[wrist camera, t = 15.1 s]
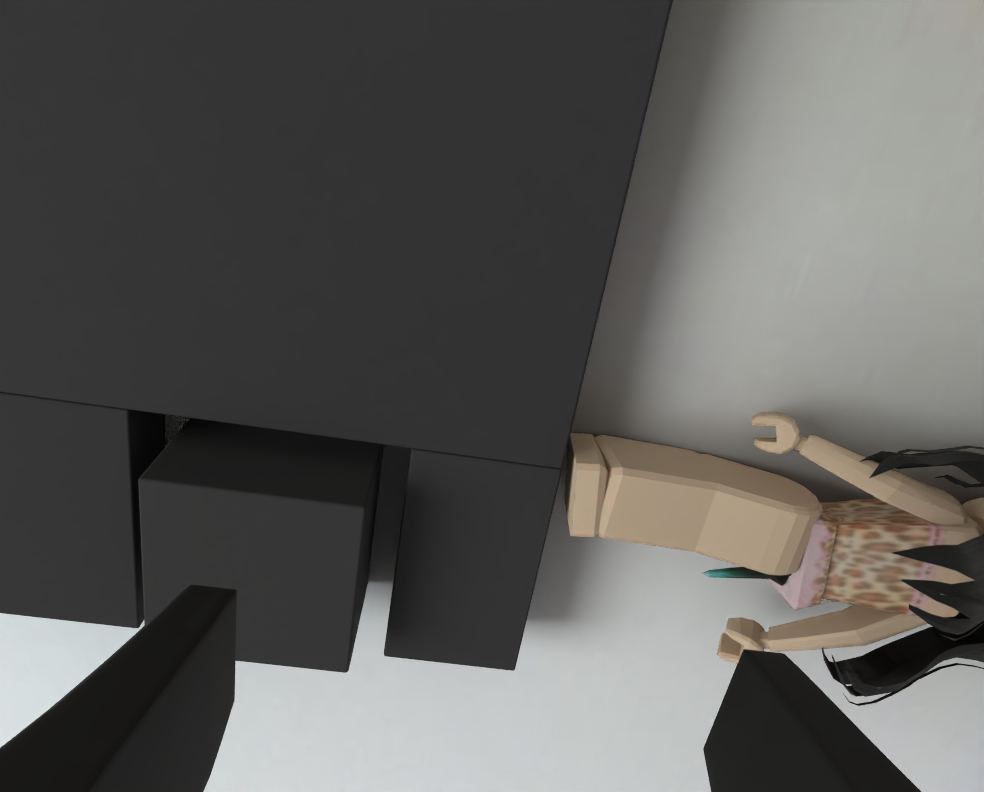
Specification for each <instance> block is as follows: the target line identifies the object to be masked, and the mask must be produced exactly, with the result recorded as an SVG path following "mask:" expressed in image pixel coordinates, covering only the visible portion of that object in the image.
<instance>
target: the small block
mask: <svg viewBox="0 0 984 792" xmlns="http://www.w3.org/2000/svg"><path fill="white" fill-rule="evenodd" d="M383 447H384V444H378V443H371V442H363V441H356V440H349V439H341V438H334V437H327V436H319V435H312V434H305V433H298V432H290V431H283V430H276V429H268V428H261V427H254V426H246V425H239V424H232V423H225V422H217V421H210V420H203V419H195V418H190V419H189V420H188V421H187V422H186V424H185V425H184V426H183V427H182V428H181V430H180V431H179V432H178V433H177V434H176V435H175V437H174V438H173V439H172V440H171V441H170V442H169V444H168V445H167V446H166V447H165V448H164V450H163V451H162V452H161V453H160V454H159V455H158V457H157V458H156V459H155V460H154V461H153V462H152V464H151V465H150V466H149V467H148V468H147V470H146V471H145V472H144V473H143V474H142V475H141V477H140V478H139V480H138V485H139V508H140V530H141V553H142V576H143V599H144V621H145V625H146V624H147V623H148V622H149V621H150V620H151V619H153V618H154V617H155V616H156V615H157V614H158V613H159V612H160V611H161V610H162V609H163V608H164V607H165V606H166V605H167V604H169V603H170V602H171V601H172V600H173V599H174V598H175V597H176V596H177V595H178V594H179V593H180V592H181V591H182V590H184V589H185V588H187V587H188V586H190V585H191V584H192V585H201V586H209V587H218V588H226V589H235V590H237V602H236V648H235V660H236V661H245V662H254V663H263V664H272V665H281V666H291V667H300V668H309V669H318V670H327V671H336V672H347V671H348V670H349V666H350V661H351V657H352V652H353V648H354V643H355V638H356V634H357V629H358V625H359V620H360V616H361V611H362V607H363V602H364V598H365V593H366V588H367V584H368V576H369V567H370V559H371V550H372V542H373V533H374V524H375V516H376V507H377V499H378V490H379V482H380V473H381V464H382V456H383Z"/></svg>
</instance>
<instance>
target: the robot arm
mask: <svg viewBox="0 0 984 792" xmlns="http://www.w3.org/2000/svg"><path fill="white" fill-rule="evenodd" d="M236 602H237V590H235V589H226V588H218V587H209V586H201V585H192V584H191V585H190V586H188V587H187V588H185V589H184V590H182V591H181V592H180V593H179V594H178V595H177V596H176V597H175V598H174V599H173V600H172V601H171V602H170V603H169V604H167V605H166V606H165V607H164V608H163V609H162V610H161V611H160V612H159V613H158V614H157V615H156V616H155V617H154V618H153V619H151V620H150V621H149V622H148V623H147V624H146V625H145V626H144V627H143V628H142V629H141V630H140V631H138V632H137V633H136V634H135V635H134V636H133V637H132V638H131V639H130V640H129V641H127V642H126V643H125V644H124V645H123V646H122V647H121V648H120V649H119V650H117V651H116V652H115V653H114V654H113V655H112V656H111V657H110V658H108V659H107V660H106V661H105V662H104V663H103V664H102V665H100V666H99V667H98V668H97V669H96V670H95V671H93V672H92V673H91V674H90V675H89V676H88V677H86V678H85V679H84V680H83V681H82V682H81V683H79V684H78V685H77V686H76V687H75V688H74V689H72V690H71V691H70V692H69V693H68V694H67V695H65V696H64V697H63V698H62V699H61V700H60V701H58V702H57V703H56V704H55V705H54V706H52V707H51V708H50V709H49V710H48V711H46V712H45V713H44V714H43V715H41V716H40V717H39V718H38V719H36V720H35V721H34V722H33V723H31V724H30V725H29V726H27V727H26V728H25V729H24V730H22V731H21V732H20V733H19V734H17V735H16V736H15V737H14V738H12V739H11V740H10V741H8V742H7V743H6V744H5V745H3V746H2V747H1V748H0V792H203V791H204V789H205V786H206V784H207V782H208V779H209V777H210V774H211V771H212V768H213V765H214V762H215V759H216V756H217V753H218V750H219V747H220V744H221V741H222V738H223V735H224V732H225V728H226V725H227V722H228V719H229V716H230V712H231V709H232V706H233V703H234V695H235V648H236ZM703 750H704V755H705V760H706V766H707V771H708V776H709V782H710V787H711V792H921V791H920V790H919V789H918V788H917V787H916V786H915V785H914V784H913V783H912V782H911V781H910V780H909V779H908V778H907V777H906V776H905V775H904V774H903V773H902V772H901V771H900V770H899V769H898V768H897V767H896V766H895V765H894V764H893V763H892V762H891V761H890V760H889V759H888V758H887V757H886V756H885V755H884V754H883V753H882V752H881V751H880V750H879V749H878V748H877V747H876V746H875V745H874V744H873V743H872V742H871V741H870V740H869V739H868V738H867V737H866V736H865V735H864V734H863V733H862V732H861V731H860V730H859V728H858V727H857V726H856V725H855V724H854V723H853V722H852V721H851V720H850V719H849V718H848V717H847V716H846V715H845V714H844V713H843V712H842V711H841V710H840V709H839V708H838V707H837V706H836V705H835V704H834V703H833V702H832V701H831V700H830V699H829V698H828V697H827V696H826V695H825V694H824V693H823V692H822V691H821V689H820V688H819V687H818V686H817V685H816V684H815V683H814V682H813V681H812V680H811V679H810V678H809V677H808V676H807V675H806V674H805V673H804V672H803V671H802V670H801V669H800V668H799V667H798V666H796V665H795V664H794V663H793V662H792V661H791V660H790V659H789V658H788V657H787V656H786V655H785V654H782V653H774V652H765V651H756V650H748V649H743V652H742V654H741V657H740V659H739V662H738V664H737V667H736V669H735V672H734V674H733V677H732V679H731V681H730V684H729V686H728V689H727V691H726V694H725V696H724V699H723V701H722V704H721V706H720V709H719V711H718V714H717V716H716V719H715V721H714V724H713V726H712V729H711V731H710V734H709V736H708V739H707V741H706V744H705V746H704V749H703Z"/></svg>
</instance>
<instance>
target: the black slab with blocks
mask: <svg viewBox="0 0 984 792" xmlns="http://www.w3.org/2000/svg"><path fill="white" fill-rule="evenodd" d="M672 1H673V0H0V613H6V614H15V615H24V616H32V617H41V618H50V619H59V620H68V621H77V622H86V623H95V624H104V625H113V626H121V627H130V628H139V627H140V625H141V623H142V622H143V620H144V599H143V576H142V553H141V530H140V508H139V485H138V480H139V478H140V477H141V475H142V474H143V473H144V472H145V471H146V470H147V468H148V467H149V466H150V465H151V464H152V462H153V461H154V460H155V459H156V458H157V457H158V455H159V454H160V453H161V452H162V451H163V450H164V421H163V414H166V415H173V416H181V417H188V418H195V419H203V420H210V421H217V422H225V423H232V424H239V425H246V426H254V427H261V428H268V429H276V430H283V431H290V432H298V433H305V434H312V435H319V436H327V437H334V438H341V439H349V440H356V441H363V442H371V443H378V444H385V445H392V446H400V447H407V448H412V449H411V456H410V464H409V471H408V479H407V486H406V493H405V501H404V508H403V516H402V523H401V530H400V538H399V545H398V553H397V560H396V567H395V575H394V582H393V590H392V597H391V604H390V612H389V619H388V627H387V634H386V641H385V649H384V656H389V657H398V658H407V659H415V660H424V661H433V662H442V663H451V664H460V665H469V666H478V667H487V668H496V669H504V670H514V669H515V666H516V662H517V658H518V654H519V649H520V645H521V641H522V637H523V632H524V628H525V624H526V620H527V615H528V611H529V607H530V603H531V599H532V594H533V590H534V586H535V582H536V577H537V573H538V569H539V565H540V560H541V556H542V552H543V548H544V544H545V539H546V535H547V531H548V527H549V522H550V518H551V514H552V510H553V505H554V501H555V497H556V493H557V489H558V484H559V480H560V476H561V472H562V470H561V467H562V466H563V462H564V458H565V454H566V450H567V445H568V441H569V437H570V433H571V428H572V424H573V420H574V416H575V411H576V407H577V403H578V399H579V394H580V390H581V386H582V382H583V378H584V373H585V369H586V365H587V361H588V356H589V352H590V348H591V344H592V339H593V335H594V331H595V327H596V323H597V318H598V314H599V310H600V306H601V301H602V297H603V293H604V289H605V284H606V280H607V276H608V272H609V268H610V263H611V259H612V255H613V251H614V246H615V242H616V238H617V234H618V229H619V225H620V221H621V217H622V212H623V208H624V204H625V200H626V196H627V191H628V187H629V183H630V179H631V174H632V170H633V166H634V162H635V157H636V153H637V149H638V145H639V141H640V136H641V132H642V128H643V124H644V119H645V115H646V111H647V107H648V102H649V98H650V94H651V90H652V85H653V81H654V77H655V73H656V69H657V64H658V60H659V56H660V52H661V47H662V43H663V39H664V35H665V30H666V26H667V22H668V18H669V14H670V9H671V5H672Z"/></svg>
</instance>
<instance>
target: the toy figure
mask: <svg viewBox="0 0 984 792" xmlns="http://www.w3.org/2000/svg"><path fill="white" fill-rule="evenodd" d="M752 424H753V425H754V426H776V437H777V438H755V441H754V445H755V446H757V447H758V448H759V449H761V450H763V451H766V452H768V453H774V454H784V453H786V452H788V451H790V450H791V449H795V450H798V451H799V453H800V454H801V455H803V456H804V457H806V458H808V459H810V460H811V461H813V462H815V463H816V464H818V465H820V466H822V467H823V468H825V469H827V470H828V471H830V472H832V473H834V474H835V475H837V476H839V477H840V478H842V479H844V480H846V481H848V482H849V483H851V484H853V485H855V486H857V487H858V488H860V489H862V490H864V491H865V492H867V493H869V494H871V495H873V496H874V497H876V498H874V499H862V500H850V501H837V502H825V503H820V502H819V501H818V499H817V497H816V496H815V495H814V494H813V493H811V492H810V491H809V490H808V489H807V488H805V487H804V486H802V485H800V484H798V483H797V482H794V481H792V480H790V479H787V478H785V477H783V476H780V475H777V474H773V473H770V472H766V471H763V470H760V469H756V468H753V467H749V466H746V465H743V464H739V463H736V462H732V461H729V460H726V459H722V458H719V457H715V456H712V455H709V454H699V453H697V452H695V451H693V450H687V449H681V448H676V447H670V446H664V445H658V444H653V443H647V442H641V441H636V440H630V439H624V438H619V437H613V436H607V435H599V436H597V437H594V436H593V435H591V434H586V433H570V437H569V442H568V455H567V467H566V480H565V493H564V499H565V505H566V512H567V518H568V524H569V530H570V536H577V537H594V536H596V535H598V536H599V537H601V538H606V539H613V540H619V541H626V542H633V543H640V544H646V545H653V546H660V547H666V548H673V549H680V550H687V551H693V552H697V553H700V554H703V555H706V556H709V557H713V558H716V559H719V560H722V561H726V562H729V563H732V564H735V565H739V566H742V567H736V568H725V569H716V570H709V571H706V572H704V573H702V574H704V575H706V576H708V577H721V578H758V579H768V580H769V581H770V583H771V584H772V585H773V586H774V587H775V588H776V589H777V591H778V592H779V593H780V594H781V595H782V596H783V598H784V599H785V600H786V601H787V602H788V603H789V604H790V606H791V607H792V608H793V609H794V610H798V609H802V608H806V607H810V606H813V605H817V604H820V603H821V601H822V598H823V599H828V600H833V601H838V602H843V603H848V604H853V606H851V607H848V608H846V609H844V610H841V611H837V612H833V613H828V614H824V615H820V616H816V617H811V618H807V619H803V620H799V621H795V622H790V623H786V624H782V625H778V626H773V627H769V632H765V630H764V629H763V627H762V626H761V625H760V624H759V623H757V622H756V621H754V620H750V619H745V618H730V619H728V622H727V627H726V631H725V632H726V633H723V634H722V635H721V638H720V643H719V647H718V652H717V655H718V656H719V657H721V658H722V659H723V660H726V661H729V662H733V663H737V664H738V662H739V659H740V657H741V654H742V652H743V649H748V650H756V651H764V648H768V649H770V650H771V651H798V650H815V649H822V652H823V657H824V661H825V663H826V665H827V667H828V669H829V671H830V673H831V675H832V677H833V678H834V679H835V680H837V681H838V682H839V683H841V684H843V685H844V687H845V688H846V689H847V690H848V691H849V693H850V694H852V695H854V696H872V695H878V694H884V693H890V692H891V693H890V694H888V695H885V696H883V697H881V698H879V699H877V700H874V701H871V702H866V703H860V704H856V703H853V702H850V701H849V700H848V699H847V700H848V701H849V702H850V703H852V704H855V705H858V706H860V705H866V704H872V703H876V702H878V701H881V700H883V699H885V698H887V697H889V696H892V695H894V694H896V693H898V692H899V691H901V690H903V689H905V688H907V687H908V686H910V685H911V684H913V683H914V682H915V681H917V680H918V679H921V678H923V677H925V676H927V675H929V674H931V673H933V672H935V671H938V670H940V669H942V668H946V667H951V666H955V665H965V666H972V667H978V666H974V665H967V664H959V663H954V664H950V665H946V666H941V667H938V668H936V669H934V670H931V671H929V672H927V671H928V670H930V669H931V668H933V667H934V666H935V665H937V664H938V663H940V662H942V661H944V660H948V659H952V658H956V657H958V658H964V659H971V660H977V661H980V662H984V497H982V498H977V499H974V500H970V501H967V502H965V503H964V504H963V505H961V504H960V503H959V501H958V500H957V499H956V498H954V497H953V496H952V495H950V494H949V493H947V492H945V491H943V490H940V489H938V488H936V487H933V486H931V485H928V484H926V483H924V482H921V481H919V480H917V479H914V478H912V477H910V476H907V475H905V474H902V473H900V472H898V471H895V470H893V468H896V469H904V468H916V467H930V466H948V465H953V466H957V467H958V468H960V469H961V470H963V471H964V472H966V473H967V474H969V475H970V476H972V477H973V478H975V479H976V480H978V481H979V482H981V484H969V483H966V482H964V481H961V480H959V479H956V478H954V477H952V476H949V475H944V476H940V477H935V478H942V477H944V478H946V479H948V480H949V481H951V482H953V483H955V484H958V485H961V486H963V487H965V488H968V487H984V455H982V454H978V453H973V452H964V451H952V450H960V449H967V448H976V449H983V450H984V448H982V447H974V446H962V447H955V448H947V449H939V450H932V451H929V450H912V449H906V450H902V451H899V452H897V453H894V452H885V451H881V452H879V453H877V454H874V455H872V456H869V457H867V458H866V457H864V456H861V455H859V454H857V453H855V452H852V451H850V450H848V449H845V448H843V447H841V446H839V445H836V444H834V443H832V442H829V441H827V440H825V439H823V438H820V437H818V436H815V435H809V436H808V437H807V438H806V437H803V436H800V435H799V427H798V425H797V423H796V421H795V420H794V419H792V418H791V417H789V416H787V415H785V414H781V413H778V412H761V413H759V414H757V415H755V416H753V418H752ZM909 451H918V452H927V453H917V454H903V453H905V452H909ZM927 623H928V624H930V625H932V626H934V627H930V628H927V629H924V630H922V631H919V632H917V633H914V634H911V635H909V636H906V637H904V638H901V639H899V640H896V641H893V642H891V643H889V644H886V645H884V646H882V647H879V648H877V649H875V650H873V651H871V652H869V653H867V654H865V655H863V656H860V657H856V658H852V659H848V660H843V661H838V662H835V660H834V658H833V655H832V658H833V661H834V662H830V661H828V659H827V657H826V656H825V654H824V650H823V649H828V648H840V647H852V646H864V645H869V644H871V643H874V642H877V641H880V640H882V639H885V638H888V637H891V636H894V635H896V634H899V633H902V632H905V631H908V630H910V629H913V628H916V627H919V626H922V625H924V624H927ZM978 668H981V667H978ZM982 669H984V668H982ZM926 672H927V673H926ZM846 684H851V685H852V686H846ZM843 694H844V693H843ZM845 697H846V696H845Z"/></svg>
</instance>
